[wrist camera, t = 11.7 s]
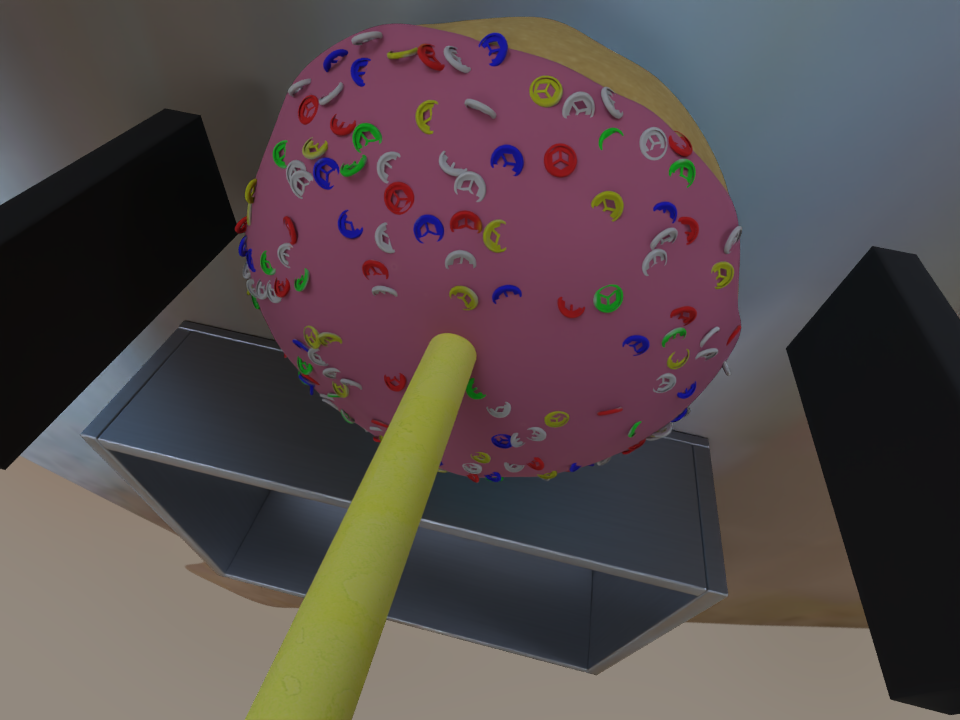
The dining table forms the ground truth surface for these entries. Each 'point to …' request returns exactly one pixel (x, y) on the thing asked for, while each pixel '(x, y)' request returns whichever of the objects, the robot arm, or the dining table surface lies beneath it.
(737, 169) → the dining table surface
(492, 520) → the open rectangular bin
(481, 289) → the cupcake
